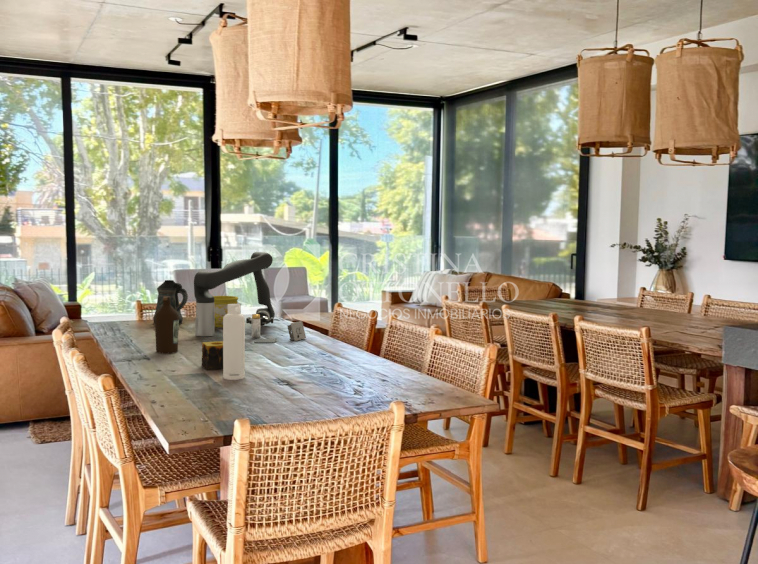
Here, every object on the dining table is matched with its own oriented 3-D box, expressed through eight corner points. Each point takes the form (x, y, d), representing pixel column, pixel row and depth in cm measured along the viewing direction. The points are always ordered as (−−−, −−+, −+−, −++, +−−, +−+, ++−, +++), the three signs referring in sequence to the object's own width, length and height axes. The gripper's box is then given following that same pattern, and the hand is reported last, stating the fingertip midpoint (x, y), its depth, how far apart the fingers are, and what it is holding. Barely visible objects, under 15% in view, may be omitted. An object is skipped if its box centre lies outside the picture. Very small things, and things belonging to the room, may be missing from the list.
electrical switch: (295, 341, 355) (294, 323, 354) (287, 341, 357) (286, 323, 357) (306, 339, 363) (305, 321, 362) (298, 339, 365) (296, 321, 365)
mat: (254, 343, 348) (254, 341, 348) (256, 339, 358) (256, 338, 358) (274, 343, 348) (274, 342, 348) (276, 339, 358) (276, 338, 358)
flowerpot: (234, 328, 394) (234, 299, 393) (202, 328, 394) (202, 298, 393) (241, 324, 412) (241, 295, 411) (210, 323, 412) (210, 295, 411)
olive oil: (151, 353, 316) (151, 298, 314) (158, 349, 326) (157, 295, 324) (175, 354, 316) (175, 298, 314) (181, 349, 327) (181, 295, 324)
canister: (251, 338, 361) (251, 315, 360) (252, 337, 366) (252, 314, 365) (259, 338, 362) (259, 315, 361) (260, 337, 366) (260, 314, 365)
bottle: (234, 380, 265) (234, 306, 262) (218, 378, 269) (218, 304, 267) (249, 377, 272) (249, 304, 269) (233, 374, 276) (233, 302, 274)
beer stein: (154, 321, 416) (153, 279, 414) (188, 321, 420) (188, 279, 418) (152, 325, 400) (151, 281, 398) (187, 325, 404) (187, 281, 402)
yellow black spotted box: (206, 370, 282) (206, 346, 281) (200, 366, 291) (200, 342, 290) (232, 368, 287) (232, 344, 286) (225, 364, 295) (225, 340, 295)
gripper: (249, 311, 390) (245, 314, 373) (275, 311, 390) (272, 315, 374) (249, 324, 390) (245, 329, 374) (275, 324, 391) (272, 329, 375)
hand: (258, 322), depth 374 cm, fingers open, 8 cm apart
